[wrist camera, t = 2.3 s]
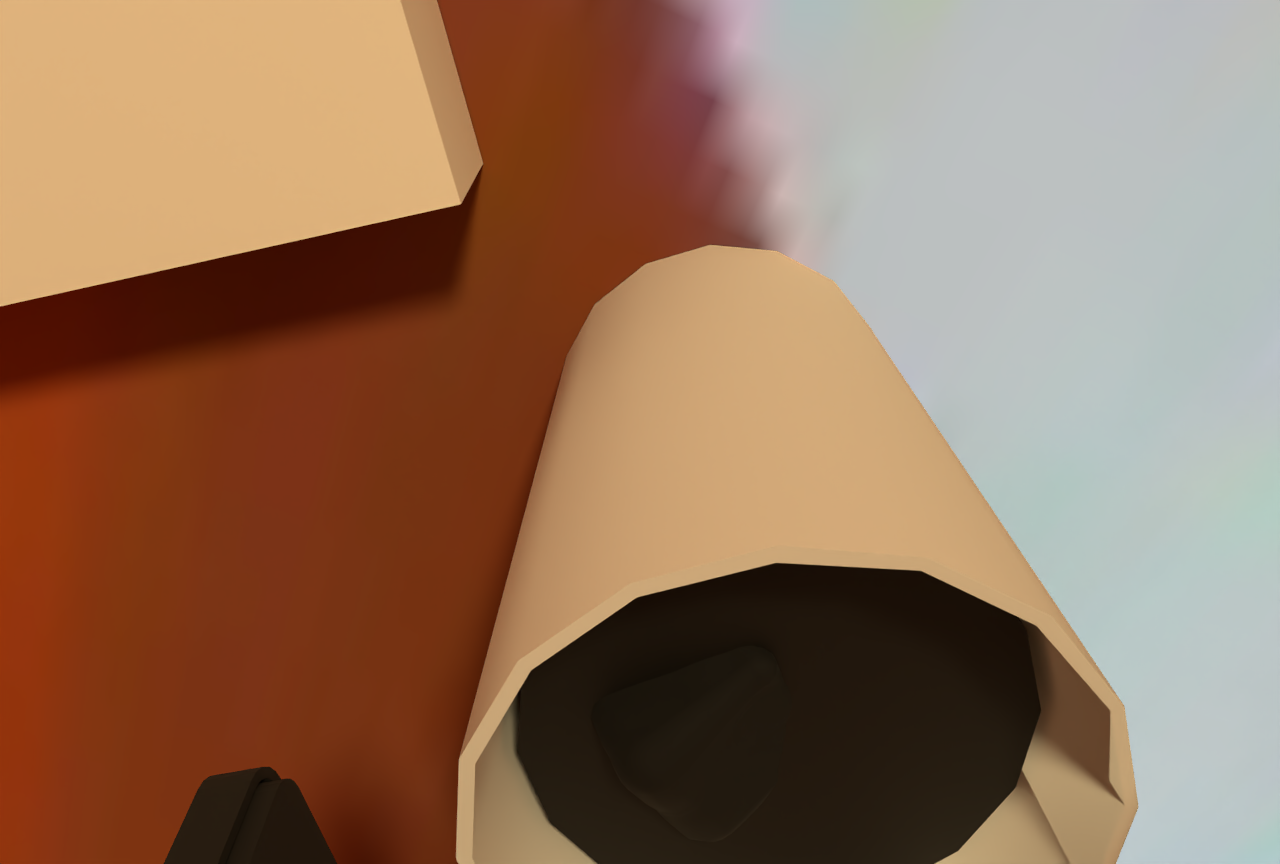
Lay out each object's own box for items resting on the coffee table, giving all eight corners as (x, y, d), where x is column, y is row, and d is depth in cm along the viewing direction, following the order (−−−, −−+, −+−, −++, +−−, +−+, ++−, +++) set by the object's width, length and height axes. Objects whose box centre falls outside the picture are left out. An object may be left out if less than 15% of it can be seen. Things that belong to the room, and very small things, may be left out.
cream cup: (645, 608, 22) (651, 1118, 13) (464, 330, 19) (312, 726, 10) (963, 467, 20) (1221, 928, 11) (815, 146, 18) (998, 416, 9)
